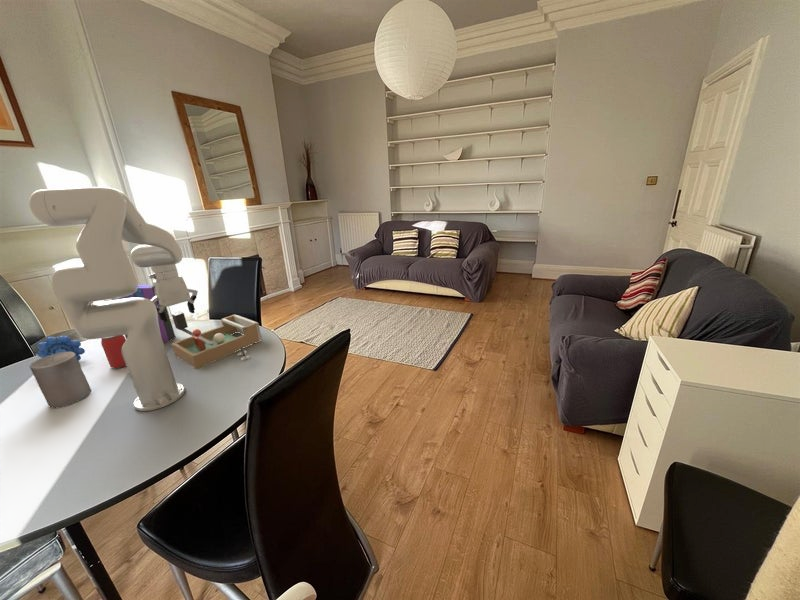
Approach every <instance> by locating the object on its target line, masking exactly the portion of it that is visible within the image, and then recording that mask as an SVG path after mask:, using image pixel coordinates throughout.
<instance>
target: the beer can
mask: <svg viewBox="0 0 800 600" xmlns="http://www.w3.org/2000/svg"><path fill="white" fill-rule="evenodd" d="M100 339H101V341H100V343H101V346H102V349H103V351H104V352H103V353H104V354H105V357H106V359H107V362H108V365H109V367H110V368H111V369H115V368H116V369H121V367H122V368H125V367H127V366H126V363H125V361H124V358H123V356H122V346H123V344H124V342H125V341H126V337H125V335H117V336H111V337H105V338H100Z"/></svg>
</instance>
